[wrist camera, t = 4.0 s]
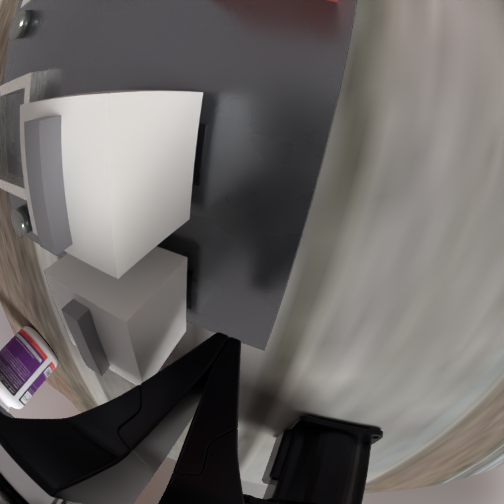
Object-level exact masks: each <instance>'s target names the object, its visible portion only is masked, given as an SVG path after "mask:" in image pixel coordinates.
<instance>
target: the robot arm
mask: <svg viewBox="0 0 504 504" xmlns="http://www.w3.org/2000/svg"><path fill="white" fill-rule="evenodd" d="M240 353H241V341H240V340H239V339H236V338H233V337H229V336H228V335H226V334H223V333H220V332H217V333H216V334H214V335H213V336H211V337H210V338H208V339H207V340H206V341H204V342H203V343H201V344H200V345H198V346H197V347H195V348H194V349H192V350H191V351H189V352H188V353H187V354H185V355H184V356H182V357H181V358H179V359H178V360H176V361H175V362H173V363H172V364H170V365H169V366H167V367H166V368H164V369H162V370H161V371H159V372H158V373H156V374H155V375H153V376H152V377H150V378H149V379H147V380H145V381H144V382H142V383H141V385H137V386H136V387H134V388H133V389H131V390H129V391H128V392H126V393H124V394H122V395H121V396H119V397H117V398H115V399H113V400H111V401H109V402H107V403H104V404H102V405H100V406H97V407H95V408H93V409H90V410H88V411H85V412H83V413H81V414H78V415H75V416H72V417H69V418H62V419H22V418H14V417H13V416H12V415H11V414H10V413H9V412H7V411H6V410H5V409H4V408H3V407H2V406H1V405H0V504H133V503H134V502H135V500H136V499H137V498H138V497H139V495H140V494H141V492H142V491H143V490H144V488H145V487H146V485H147V484H148V482H149V481H150V480H151V478H152V477H153V475H154V473H155V472H156V471H157V469H158V468H159V467H160V465H161V464H162V462H163V461H164V459H165V458H166V456H167V455H168V453H169V452H170V450H171V449H172V447H173V446H174V444H175V443H176V441H177V440H178V438H179V437H180V435H181V434H182V432H183V431H184V429H185V428H186V426H187V425H188V423H189V421H190V420H191V418H192V417H193V415H194V417H193V420H192V422H191V425H190V428H189V430H188V433H187V436H186V439H185V441H184V444H183V447H182V449H181V452H180V455H179V457H178V460H177V463H176V465H175V468H174V471H173V474H172V476H171V479H170V481H169V483H168V486H167V488H166V490H165V492H164V494H163V496H162V498H161V500H160V501H159V503H158V504H362V500H363V494H364V489H365V484H366V478H367V472H368V465H369V458H370V450H371V445H372V444H373V443H375V442H376V441H378V440H380V439H381V438H382V437H383V431H381V430H375V429H368V428H362V427H357V426H351V425H346V424H341V423H336V422H332V421H327V420H323V419H319V418H315V417H311V416H300V417H299V418H298V419H297V420H296V421H295V422H294V424H293V425H292V426H291V427H290V428H289V429H285V430H284V431H283V432H282V433H281V434H280V435H279V436H278V438H277V439H276V441H275V444H274V447H273V450H272V453H271V456H270V459H269V461H268V464H267V467H266V470H265V473H264V475H263V478H262V481H263V483H266V484H268V487H267V489H266V492H265V495H264V497H263V499H260V498H255V497H253V496H251V495H246V494H243V493H242V486H241V479H240V472H239V463H238V429H237V428H238V408H239V380H240Z"/></svg>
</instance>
